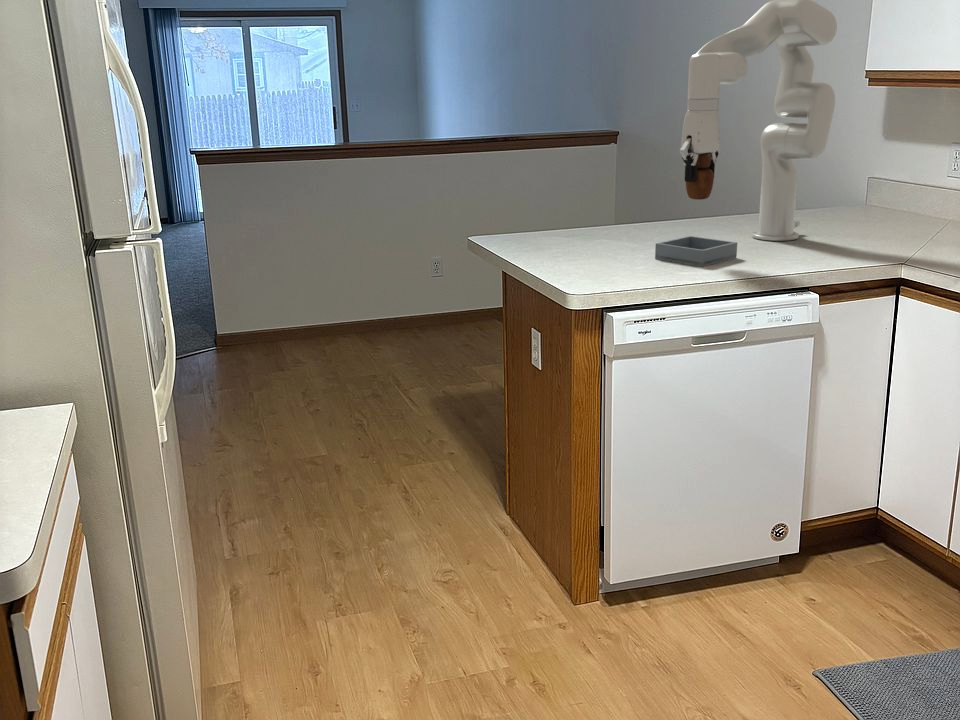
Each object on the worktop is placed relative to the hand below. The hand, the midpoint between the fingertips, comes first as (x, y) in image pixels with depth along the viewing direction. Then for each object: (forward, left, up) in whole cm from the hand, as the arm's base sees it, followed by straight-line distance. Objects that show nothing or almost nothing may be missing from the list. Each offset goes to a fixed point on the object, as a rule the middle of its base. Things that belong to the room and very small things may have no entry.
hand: (699, 179), depth 230 cm
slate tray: (0, 0, -20) cm, 20 cm away
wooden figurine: (0, 0, -5) cm, 5 cm away
